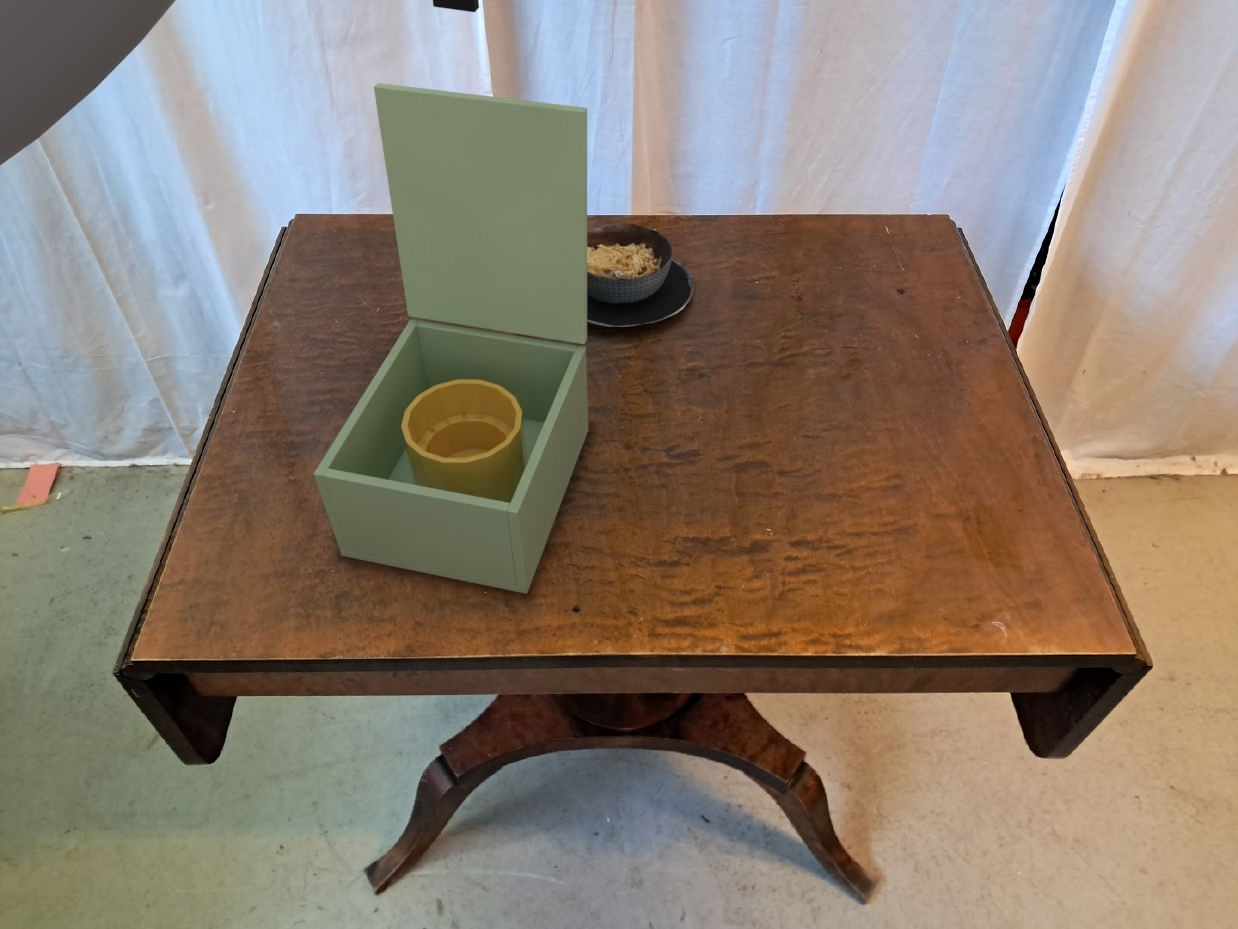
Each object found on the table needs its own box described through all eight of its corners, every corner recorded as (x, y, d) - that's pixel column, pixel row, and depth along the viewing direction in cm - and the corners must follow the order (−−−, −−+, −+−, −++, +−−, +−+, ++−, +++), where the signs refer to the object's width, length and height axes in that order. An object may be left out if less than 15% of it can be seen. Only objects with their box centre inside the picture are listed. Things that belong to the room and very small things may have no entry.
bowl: (462, 543, 76) (450, 481, 70) (394, 481, 80) (378, 417, 75) (550, 483, 80) (546, 419, 75) (481, 426, 85) (472, 363, 79)
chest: (527, 594, 73) (517, 513, 66) (341, 556, 76) (312, 473, 69) (588, 429, 86) (586, 346, 78) (427, 401, 88) (410, 318, 81)
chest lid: (584, 111, 65) (587, 107, 65) (373, 86, 67) (377, 82, 68) (584, 344, 78) (587, 339, 78) (407, 316, 80) (411, 311, 81)
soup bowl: (693, 341, 94) (698, 280, 89) (534, 337, 95) (529, 275, 89) (692, 254, 104) (696, 195, 99) (548, 250, 105) (544, 191, 99)
